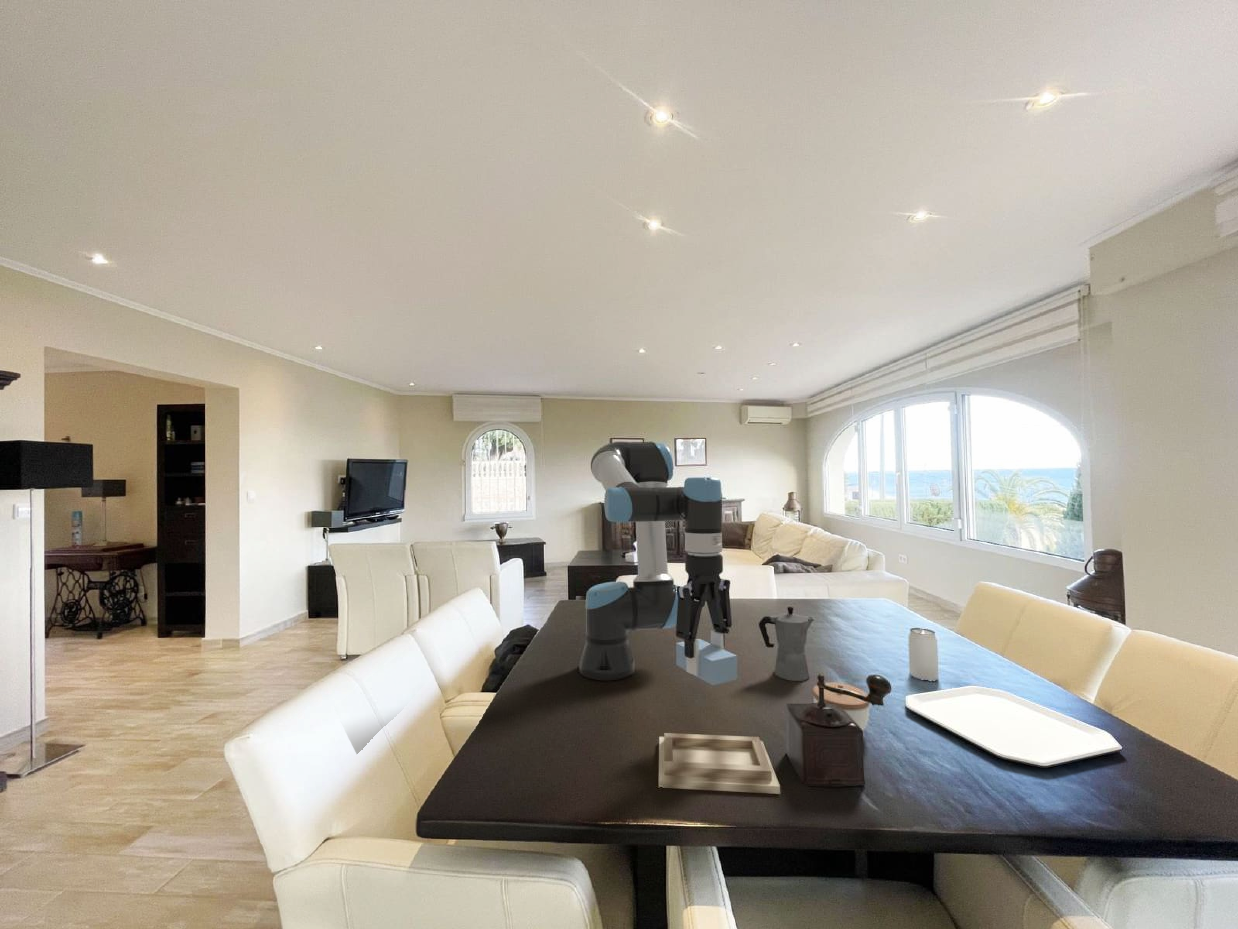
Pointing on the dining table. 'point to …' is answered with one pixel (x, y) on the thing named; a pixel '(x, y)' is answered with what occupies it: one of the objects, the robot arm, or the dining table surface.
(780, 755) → the dining table surface
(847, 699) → the lidded jar
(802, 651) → the coffeepot
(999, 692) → the plate
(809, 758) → the coffee grinder
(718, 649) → the blue block
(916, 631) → the can
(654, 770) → the dining table surface
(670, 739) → the slot holder
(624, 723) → the dining table surface
